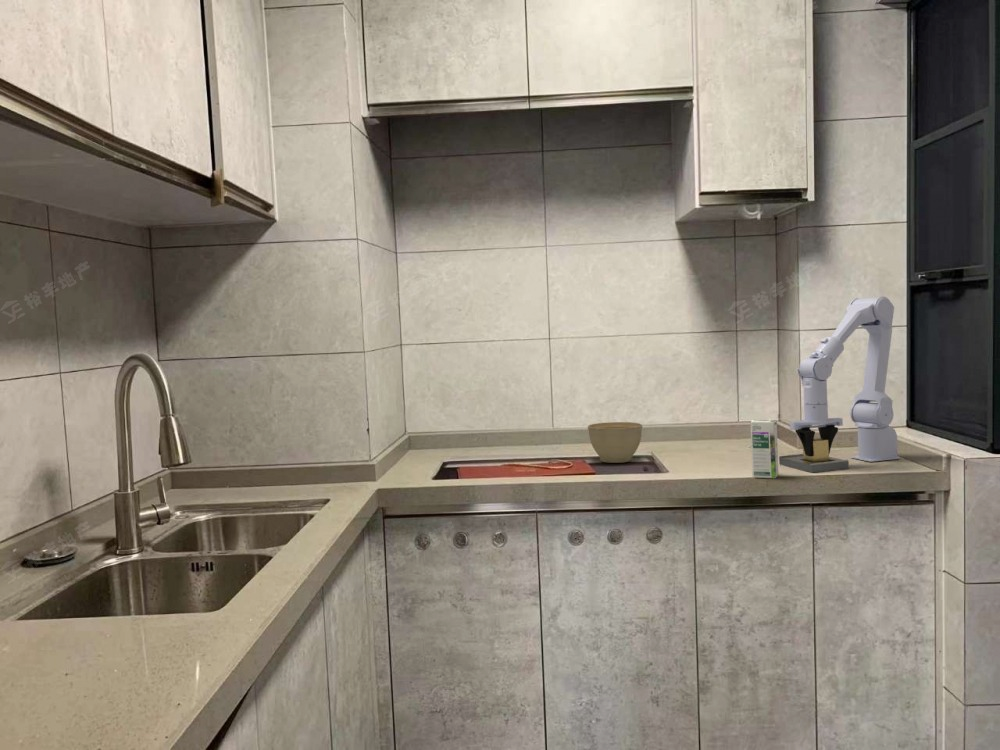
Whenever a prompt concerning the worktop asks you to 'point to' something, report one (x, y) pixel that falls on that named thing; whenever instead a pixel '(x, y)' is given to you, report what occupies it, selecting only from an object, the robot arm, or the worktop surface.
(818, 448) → the block
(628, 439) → the planter bowl
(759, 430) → the syrup box
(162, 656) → the worktop surface
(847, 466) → the rail plate
